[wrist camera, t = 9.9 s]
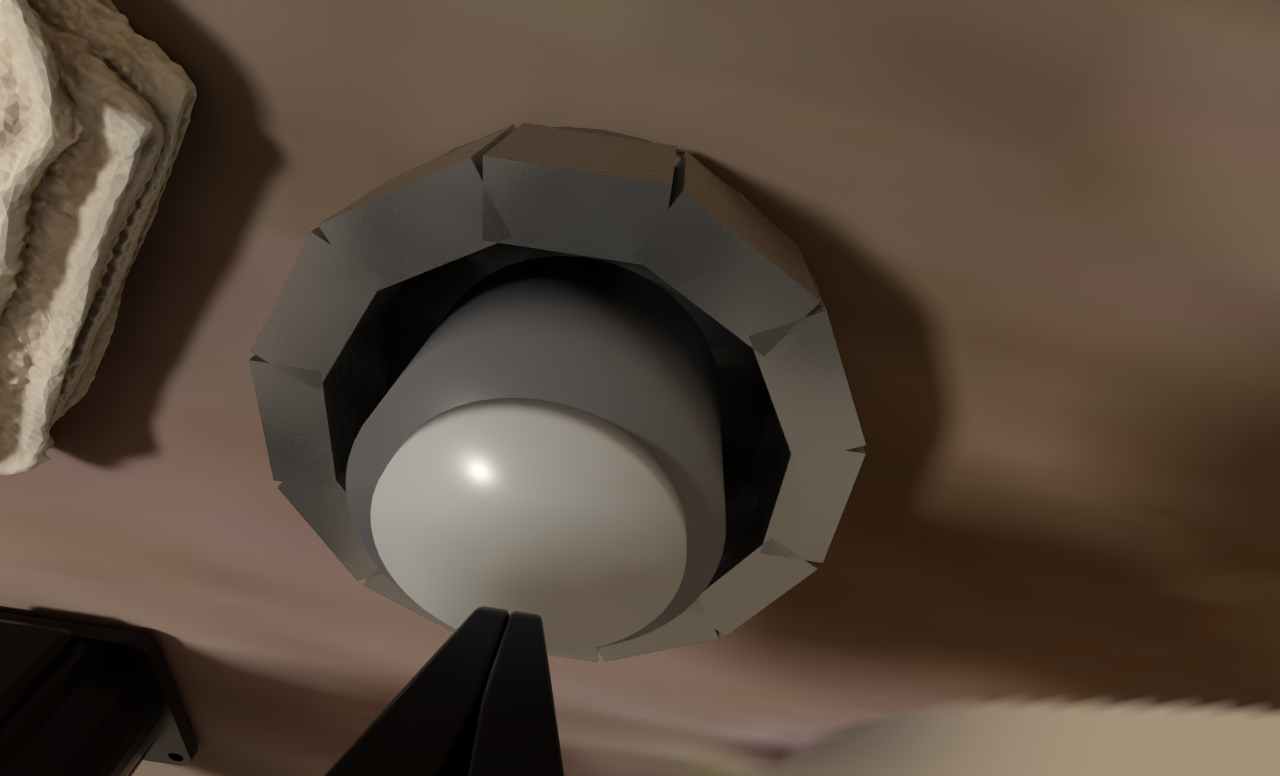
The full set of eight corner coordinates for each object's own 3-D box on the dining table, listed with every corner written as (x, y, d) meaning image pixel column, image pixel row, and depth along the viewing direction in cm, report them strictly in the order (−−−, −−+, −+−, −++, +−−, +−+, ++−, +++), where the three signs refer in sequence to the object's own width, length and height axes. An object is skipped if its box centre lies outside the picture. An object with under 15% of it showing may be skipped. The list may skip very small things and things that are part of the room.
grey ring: (762, 585, 17) (773, 688, 15) (359, 525, 17) (301, 618, 14) (898, 175, 12) (954, 228, 9) (305, 84, 11) (198, 111, 9)
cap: (692, 519, 15) (690, 695, 12) (437, 482, 15) (351, 647, 12) (746, 280, 12) (768, 415, 8) (426, 234, 12) (304, 347, 8)
